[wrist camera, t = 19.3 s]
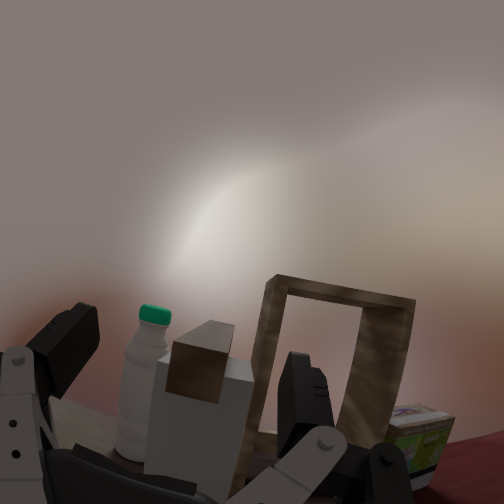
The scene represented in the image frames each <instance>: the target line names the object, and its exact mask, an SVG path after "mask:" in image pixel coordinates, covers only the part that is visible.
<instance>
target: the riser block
mask: <svg viewBox="0 0 504 504" xmlns="http://www.w3.org/2000/svg"><path fill="white" fill-rule="evenodd" d="M170 357H171V352H170V353H168V354H167V355H165V356H164V357H162V358H161V359H159V360H158V361H157V367H156V373H155V379H154V386H153V393H152V400H151V408H150V415H149V423H148V432H147V441H146V450H145V461H144V472H143V474H151V475H165V476H169V477H172V478H176V479H180V480H185V481H189V482H193V483H197V491H199V492H201V493H203V494H205V495H207V496H209V497H210V498H212V499H213V500H215V501H216V502H217V503H219V504H224V503H225V502H226V501H227V498H228V494H229V490H230V486H231V482H232V478H233V474H234V469H235V465H236V461H237V457H238V453H239V448H240V444H241V440H242V435H243V431H244V426H245V422H246V418H247V413H248V409H249V404H250V399H251V395H252V390H253V386H254V378H253V373H252V367H251V362H250V361H246V360H240V359H235V358H230V357H228V361H227V366H226V371H225V375H224V380H223V384H222V389H221V394H220V398H219V403H218V404H215V403H210V402H206V401H201V400H197V399H192V398H188V397H184V396H180V395H176V394H172V393H168V392H165V387H166V381H167V374H168V368H169V362H170Z"/></svg>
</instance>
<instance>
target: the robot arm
mask: <svg viewBox="0 0 504 504" xmlns="http://www.w3.org/2000/svg"><path fill="white" fill-rule="evenodd" d="M99 340H100V334H99V324H98V314H97V309H96V307H94V306H91V305H88V304H85V303H82V302H79V303H77V304H76V305H75V306H74V307H73V308H72V309H71V310H70V311H69V310H66V311H64V312H62V313H59V314H57V315H56V316H55V317H54V318H53V319H52V320H51V321H50V323H48V324H47V325H46V326H45V328H43V329H42V330H41V331H40V332H39V333H38V334H37V335H36V336H35V337H34V338H33V339H32V340H31V341H30V342H29V343H28V344H27V345H26V346H21V345H17V346H13V347H10V348H9V349H7V350H6V351H5V352H4V353H2V352H0V504H219V503H217V502H216V501H215V500H213V499H212V498H210V497H209V496H207V495H205V494H203V493H201V492H199V491H197V483H193V482H189V481H185V480H180V479H176V478H172V477H169V476H165V475H151V474H140V473H132V472H129V471H127V470H125V469H124V468H122V467H121V466H119V465H117V464H116V463H114V462H113V461H111V460H110V459H108V458H107V457H105V456H104V455H102V454H100V453H97V452H95V451H92V450H90V449H88V448H85V447H83V446H81V445H79V444H77V443H76V444H75V446H74V447H73V449H72V450H70V449H60V448H59V445H58V442H57V439H56V434H55V429H54V423H53V418H52V411H51V404H50V401H49V397H50V396H51V395H52V396H54V397H56V398H58V399H61V398H62V396H63V395H64V394H65V392H66V391H67V389H68V388H69V386H70V385H71V383H72V382H73V381H74V379H75V378H76V377H77V375H78V374H79V372H80V371H81V370H82V368H83V367H84V366H85V364H86V363H87V361H88V360H89V359H90V357H91V356H92V355H93V353H94V352H95V351H96V349H97V347H98V345H99ZM277 417H278V418H277V419H278V420H277V424H278V425H277V458H282V459H281V460H280V461H279V462H278V463H277V464H275V465H274V466H269V467H268V468H267V469H265V470H264V471H263V472H262V473H261V474H259V475H258V476H257V477H256V478H255V479H254V480H252V481H251V482H250V483H249V484H248V485H246V486H245V487H244V488H243V489H242V490H240V491H239V492H238V493H237V494H235V495H234V496H233V497H231V498H230V499H229V500H228V501H226V502H225V503H224V504H303V503H304V502H305V501H306V500H307V499H308V497H309V496H310V495H311V494H312V492H313V491H314V490H316V491H319V492H322V493H326V494H329V495H333V496H336V504H415V501H414V496H413V491H412V486H411V482H410V477H409V473H408V468H407V464H406V460H405V456H404V454H403V452H402V451H401V449H400V448H399V447H397V446H396V445H394V444H391V443H388V442H381V443H378V444H376V445H374V446H373V447H372V448H371V449H367V448H364V447H360V446H357V445H353V444H350V443H348V442H347V441H346V438H345V436H344V435H343V434H342V433H341V432H340V431H339V430H337V429H335V425H334V419H333V413H332V408H331V402H330V398H329V391H328V385H327V380H326V377H325V376H324V374H323V373H322V371H321V370H320V369H319V368H314V367H311V364H310V356H309V354H305V353H298V352H291V351H290V352H289V354H288V357H287V360H286V363H285V366H284V369H283V372H282V375H281V377H280V381H279V385H278V416H277Z"/></svg>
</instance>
